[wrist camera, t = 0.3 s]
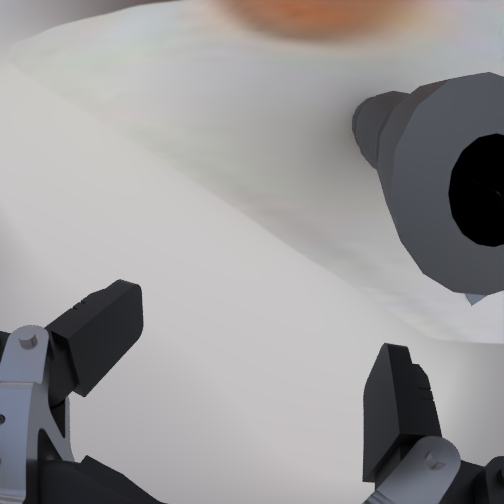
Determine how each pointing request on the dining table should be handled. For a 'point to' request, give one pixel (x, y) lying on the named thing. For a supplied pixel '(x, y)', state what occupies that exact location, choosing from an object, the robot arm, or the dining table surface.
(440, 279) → the candle holder
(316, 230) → the dining table surface
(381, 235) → the dining table surface
